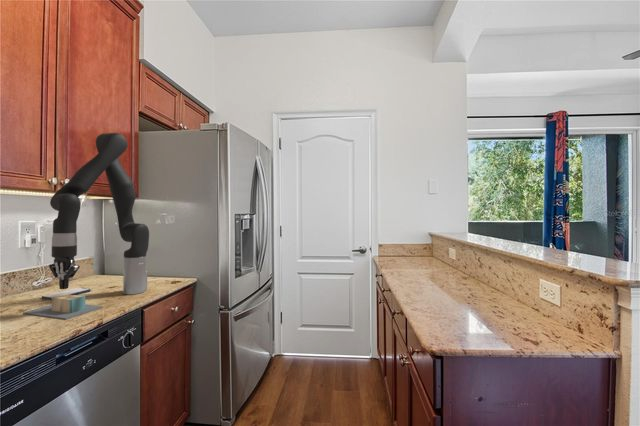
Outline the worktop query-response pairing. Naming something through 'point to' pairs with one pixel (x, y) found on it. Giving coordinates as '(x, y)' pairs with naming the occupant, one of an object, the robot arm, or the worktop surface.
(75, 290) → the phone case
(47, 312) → the slate mat
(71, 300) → the maple block
